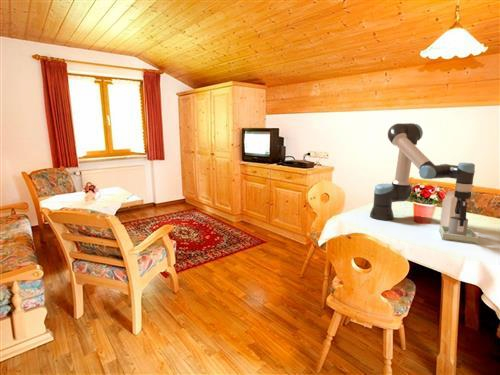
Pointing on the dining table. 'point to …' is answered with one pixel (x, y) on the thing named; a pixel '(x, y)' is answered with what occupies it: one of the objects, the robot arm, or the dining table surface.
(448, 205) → the milk
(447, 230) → the bin
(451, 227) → the cup
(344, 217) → the dining table surface
